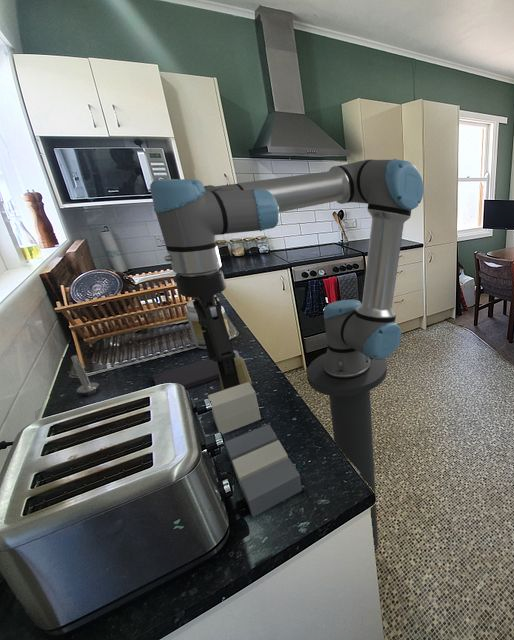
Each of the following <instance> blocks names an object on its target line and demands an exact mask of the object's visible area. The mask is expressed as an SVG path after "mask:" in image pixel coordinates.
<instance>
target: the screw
mask: <svg viewBox="0 0 514 640" xmlns="http://www.w3.org/2000/svg"><path fill="white" fill-rule="evenodd" d="M70 359H71V361H72V363H73V364H72V367H73V368H74V369H75V373H76V375H77V377H78V380H79V382H80V384H81V385H80V386H79V387H78V388H77V389H76V393H78V394H83V396H86V397H89V396H92V395H95V394H96V393H97V389H98V388H99V387H100V384H99V383H98V382H91V381H90V379H89V376H88V375H87V371H86V369H85V368H84V365H83V363H82V362H81V361H80V358H79V356H78V355H72V356H71V357H70Z"/></svg>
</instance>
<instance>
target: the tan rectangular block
mask: <svg viewBox="0 0 514 640" xmlns="http://www.w3.org/2000/svg"><path fill="white" fill-rule="evenodd" d="M288 458H289V456H288V453H287V452H286V450H285V448H284V446H283V444H282V443H281V441H280V440H279V439H278V440H277V441H275V442H273V443H271V444H268V445H266V446H264V447H262V448H259V449H257V450H255V451H252V452H250V453H248V454H246V455H243V456H241V457H239V458H237V459H234V460H232V463H233V466H234V469H233V471H234V470H235V471H234V473H235V476H236V479H237V481H238V484H239V487H240V489H241V491H242V493H243V489H242V486H241V482H240V481H242V480H244V479H246V478H248V477H251V476H253V475H255V474H257V473H259V472H261V471H263V470H265V469H267V468H269V467H271V466H273V465H276V464H278V463H280V462H282V461H284V460H286V459H288ZM233 466H232V467H233Z"/></svg>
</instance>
